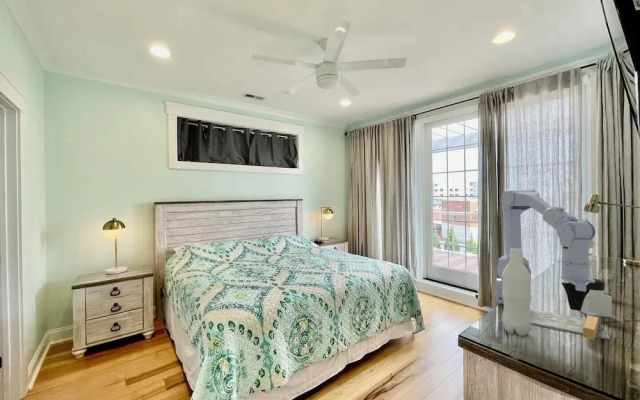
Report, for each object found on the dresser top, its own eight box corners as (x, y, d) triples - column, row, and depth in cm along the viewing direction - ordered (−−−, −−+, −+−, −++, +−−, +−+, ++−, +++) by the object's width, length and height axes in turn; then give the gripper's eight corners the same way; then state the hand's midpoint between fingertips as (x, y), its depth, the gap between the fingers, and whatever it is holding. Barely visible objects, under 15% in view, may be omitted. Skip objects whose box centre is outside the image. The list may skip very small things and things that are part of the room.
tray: (530, 324, 88) (530, 321, 88) (527, 309, 100) (527, 307, 100) (611, 340, 78) (611, 336, 78) (597, 322, 90) (597, 319, 90)
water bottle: (523, 340, 78) (523, 252, 78) (497, 329, 84) (497, 248, 84) (536, 334, 81) (536, 250, 81) (510, 324, 88) (510, 246, 88)
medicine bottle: (612, 317, 93) (612, 282, 93) (588, 315, 95) (587, 281, 95) (596, 309, 100) (596, 276, 100) (573, 308, 102) (573, 275, 102)
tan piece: (596, 341, 75) (596, 329, 75) (580, 337, 77) (580, 325, 77) (601, 324, 85) (601, 314, 85) (587, 321, 87) (587, 311, 87)
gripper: (602, 269, 71) (602, 322, 71) (587, 259, 83) (587, 304, 83) (565, 265, 75) (565, 315, 75) (557, 256, 87) (557, 299, 87)
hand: (575, 309), depth 79 cm, fingers closed
